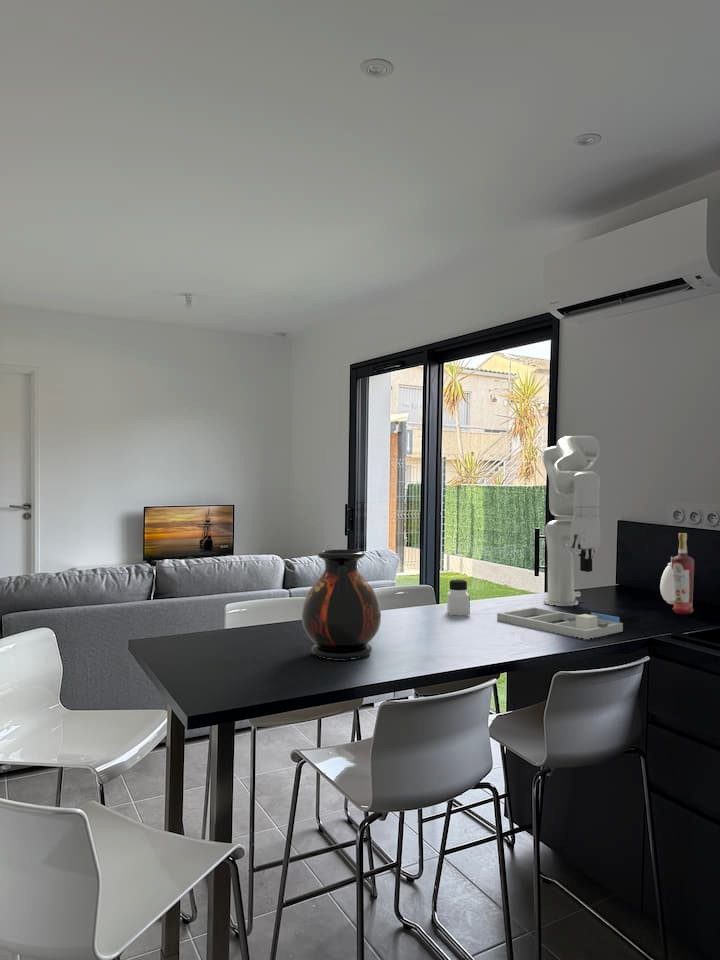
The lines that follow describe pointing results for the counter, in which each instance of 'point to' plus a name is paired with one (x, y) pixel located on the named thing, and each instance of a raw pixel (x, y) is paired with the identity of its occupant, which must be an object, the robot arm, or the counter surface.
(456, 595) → the medicine bottle
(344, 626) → the black and orange vase
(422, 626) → the counter surface
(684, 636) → the counter surface
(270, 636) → the counter surface
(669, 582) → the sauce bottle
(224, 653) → the counter surface
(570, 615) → the compartment tray
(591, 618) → the cream matte cube
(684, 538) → the liquor
